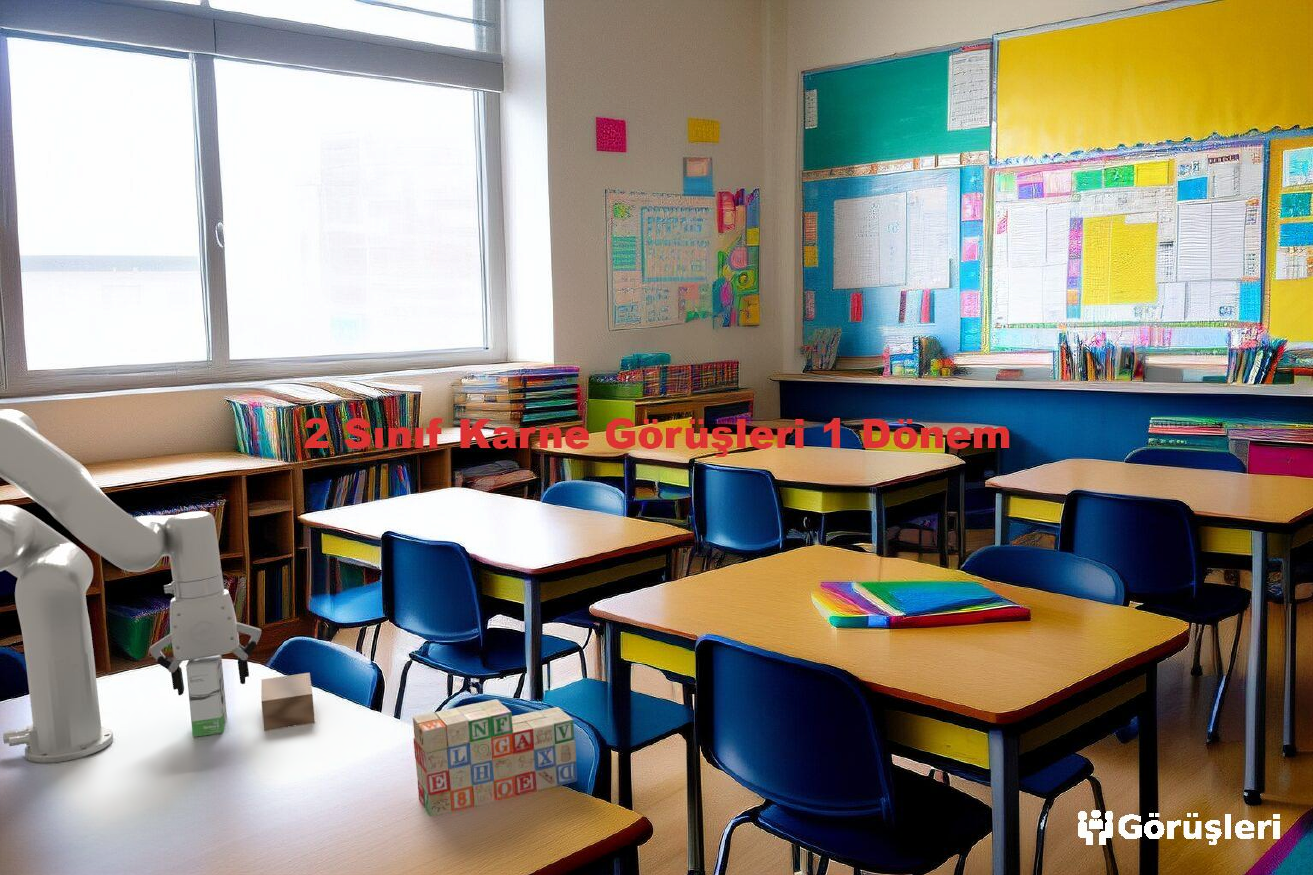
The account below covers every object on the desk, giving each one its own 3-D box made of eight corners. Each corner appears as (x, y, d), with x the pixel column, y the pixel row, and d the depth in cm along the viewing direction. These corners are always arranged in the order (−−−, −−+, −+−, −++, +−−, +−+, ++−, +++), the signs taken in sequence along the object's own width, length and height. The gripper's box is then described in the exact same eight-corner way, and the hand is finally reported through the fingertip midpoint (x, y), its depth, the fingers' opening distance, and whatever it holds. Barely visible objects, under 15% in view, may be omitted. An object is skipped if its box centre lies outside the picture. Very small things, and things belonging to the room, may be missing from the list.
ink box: (223, 733, 183) (217, 663, 181) (191, 738, 181) (184, 667, 180) (227, 716, 191) (221, 649, 190) (196, 720, 190) (190, 652, 188)
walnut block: (264, 730, 183) (261, 701, 183) (263, 707, 195) (261, 679, 194) (314, 722, 186) (312, 693, 185) (311, 699, 197) (309, 672, 197)
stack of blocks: (562, 767, 164) (557, 685, 162) (578, 782, 158) (573, 698, 157) (417, 800, 155) (411, 714, 153) (429, 818, 149) (422, 729, 147)
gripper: (139, 601, 177) (154, 704, 179) (254, 583, 183) (267, 684, 185) (144, 590, 184) (158, 689, 186) (254, 574, 190) (267, 670, 192)
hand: (212, 686), depth 186 cm, fingers open, 9 cm apart
